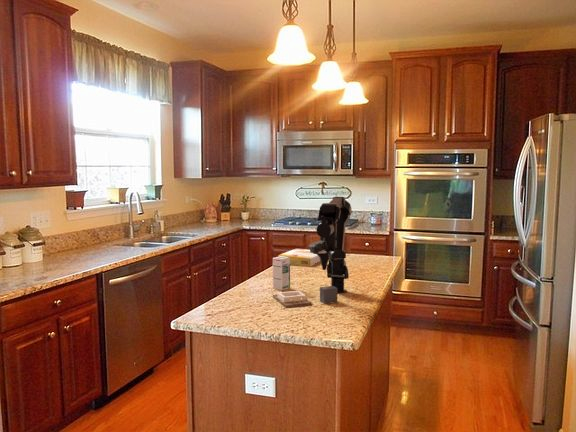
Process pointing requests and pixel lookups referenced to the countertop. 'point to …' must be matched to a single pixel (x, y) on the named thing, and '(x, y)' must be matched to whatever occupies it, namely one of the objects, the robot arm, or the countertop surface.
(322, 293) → the plug block
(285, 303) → the socket board
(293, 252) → the cereal box
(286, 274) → the syrup box
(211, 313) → the countertop surface
